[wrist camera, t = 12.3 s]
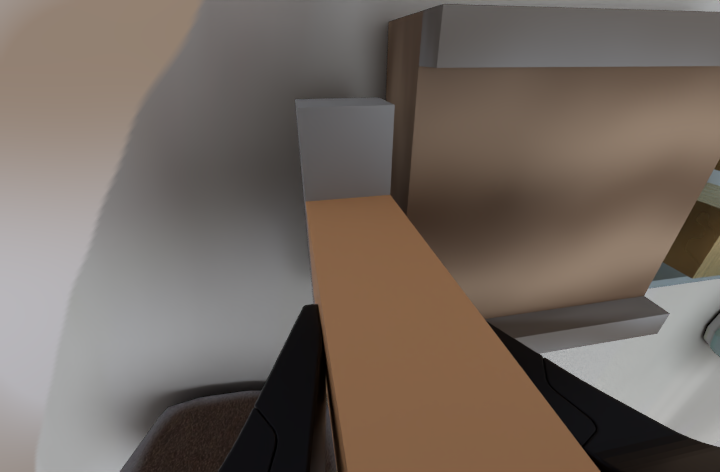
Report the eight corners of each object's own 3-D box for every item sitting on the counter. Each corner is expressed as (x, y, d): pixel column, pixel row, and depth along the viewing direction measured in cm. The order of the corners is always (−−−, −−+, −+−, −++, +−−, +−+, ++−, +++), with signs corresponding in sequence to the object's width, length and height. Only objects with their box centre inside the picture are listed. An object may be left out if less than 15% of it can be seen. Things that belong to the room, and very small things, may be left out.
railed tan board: (582, 276, 23) (657, 333, 18) (378, 302, 21) (404, 376, 16) (686, 27, 16) (855, 15, 11) (388, 21, 13) (443, 4, 9)
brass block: (627, 242, 21) (676, 238, 22) (692, 278, 18) (747, 271, 19) (655, 185, 19) (708, 182, 20) (734, 213, 16) (794, 208, 17)
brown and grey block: (372, 306, 17) (515, 706, 6) (314, 314, 16) (370, 764, 6) (378, 97, 12) (1012, 392, 2) (294, 99, 11) (420, 571, 1)
